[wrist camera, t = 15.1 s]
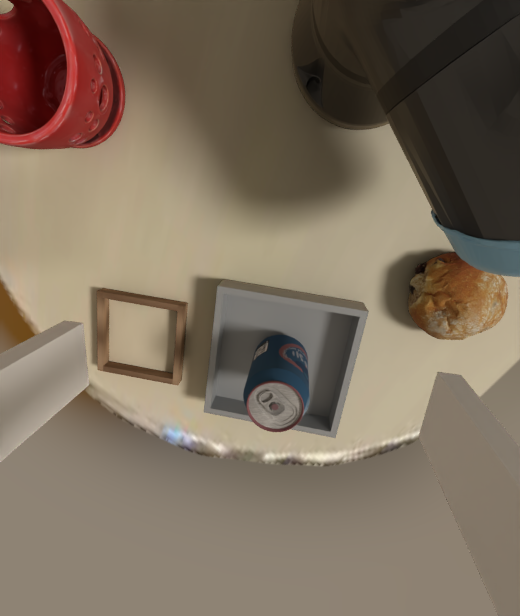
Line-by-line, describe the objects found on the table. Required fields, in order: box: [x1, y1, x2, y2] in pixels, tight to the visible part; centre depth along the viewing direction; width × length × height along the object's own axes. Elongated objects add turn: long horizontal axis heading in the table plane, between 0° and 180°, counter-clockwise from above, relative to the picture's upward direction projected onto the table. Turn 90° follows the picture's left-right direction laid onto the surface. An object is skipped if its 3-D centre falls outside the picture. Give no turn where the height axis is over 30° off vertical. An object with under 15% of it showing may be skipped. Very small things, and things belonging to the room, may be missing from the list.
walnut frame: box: [97, 288, 188, 385], centre depth 46 cm, size 12×12×2 cm
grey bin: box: [204, 279, 368, 438], centre depth 44 cm, size 18×18×4 cm
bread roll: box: [408, 252, 508, 340], centre depth 39 cm, size 10×10×8 cm
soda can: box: [243, 335, 310, 432], centre depth 39 cm, size 7×7×12 cm
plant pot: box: [0, 0, 125, 149], centre depth 33 cm, size 13×13×12 cm
